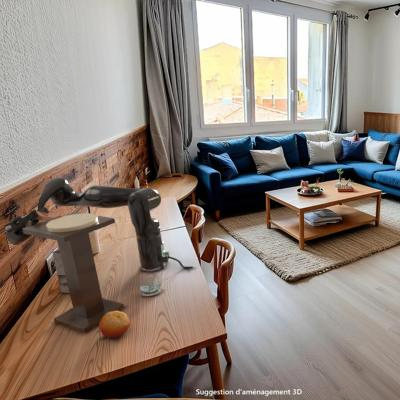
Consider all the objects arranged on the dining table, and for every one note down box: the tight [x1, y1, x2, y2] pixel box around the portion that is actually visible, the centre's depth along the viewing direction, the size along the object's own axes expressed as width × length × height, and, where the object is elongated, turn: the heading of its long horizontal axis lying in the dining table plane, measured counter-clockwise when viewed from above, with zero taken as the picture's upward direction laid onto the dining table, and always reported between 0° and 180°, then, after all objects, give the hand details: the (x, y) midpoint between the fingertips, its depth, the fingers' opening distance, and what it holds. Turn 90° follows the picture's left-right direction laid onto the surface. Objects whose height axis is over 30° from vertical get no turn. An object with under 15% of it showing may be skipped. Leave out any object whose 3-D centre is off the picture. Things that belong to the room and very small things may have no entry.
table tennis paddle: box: [36, 211, 99, 232], centre depth 105 cm, size 25×13×2 cm, turn 67°
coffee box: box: [51, 248, 70, 294], centre depth 127 cm, size 9×6×16 cm
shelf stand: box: [23, 211, 125, 334], centre depth 108 cm, size 18×16×32 cm
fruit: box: [98, 310, 131, 340], centre depth 102 cm, size 8×8×8 cm
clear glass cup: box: [139, 275, 163, 297], centre depth 124 cm, size 7×6×6 cm
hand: (41, 211), depth 107 cm, fingers closed on table tennis paddle, 2 cm apart
